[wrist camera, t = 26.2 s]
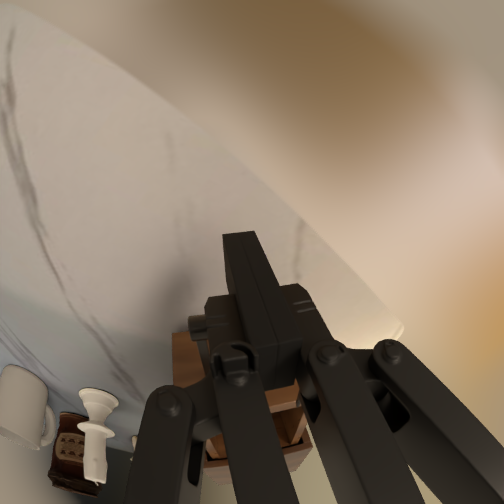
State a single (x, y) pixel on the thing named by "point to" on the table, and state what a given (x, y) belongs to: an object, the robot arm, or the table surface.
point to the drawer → (197, 366)
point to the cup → (25, 408)
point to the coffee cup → (71, 458)
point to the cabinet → (292, 455)
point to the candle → (96, 432)
